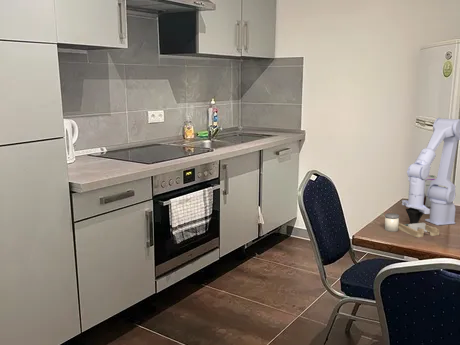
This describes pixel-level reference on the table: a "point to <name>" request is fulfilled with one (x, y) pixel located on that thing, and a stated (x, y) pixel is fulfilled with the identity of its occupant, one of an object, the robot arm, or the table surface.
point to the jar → (391, 222)
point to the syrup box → (427, 184)
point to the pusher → (418, 226)
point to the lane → (419, 230)
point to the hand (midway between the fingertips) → (413, 226)
